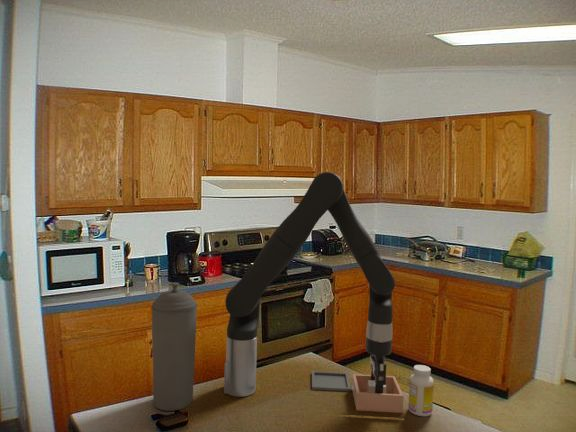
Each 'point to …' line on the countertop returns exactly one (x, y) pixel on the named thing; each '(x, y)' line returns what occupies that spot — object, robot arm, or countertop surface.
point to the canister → (173, 349)
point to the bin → (377, 395)
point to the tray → (330, 381)
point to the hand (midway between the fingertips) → (376, 389)
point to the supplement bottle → (421, 391)
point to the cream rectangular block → (373, 387)
